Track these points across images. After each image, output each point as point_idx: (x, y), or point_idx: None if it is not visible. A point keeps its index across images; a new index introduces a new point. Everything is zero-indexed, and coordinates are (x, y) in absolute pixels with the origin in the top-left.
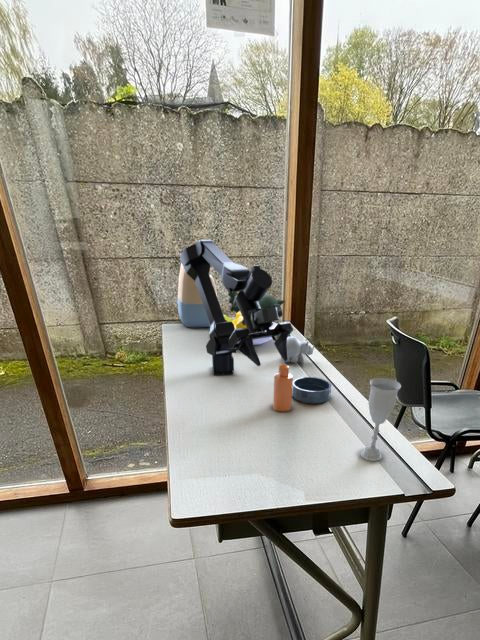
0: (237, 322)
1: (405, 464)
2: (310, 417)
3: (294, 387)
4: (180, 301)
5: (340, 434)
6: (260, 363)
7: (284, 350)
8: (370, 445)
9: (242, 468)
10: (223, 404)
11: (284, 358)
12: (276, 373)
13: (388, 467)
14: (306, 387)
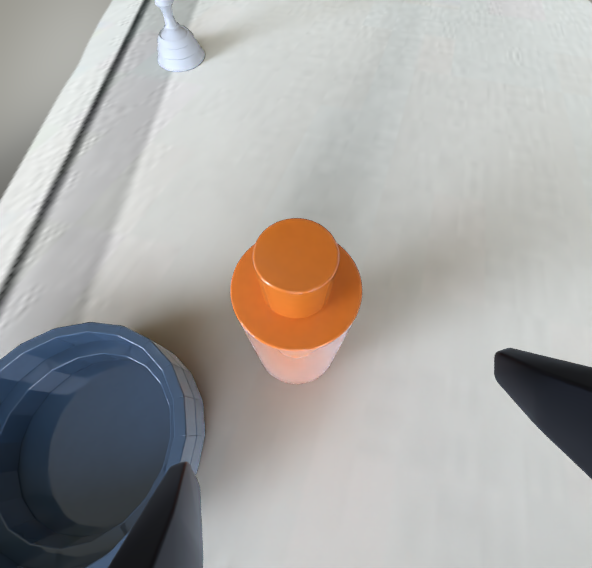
0: None
1: (135, 26)
2: (221, 243)
3: (188, 423)
4: None
5: (190, 137)
6: (503, 352)
7: (149, 563)
8: (178, 26)
9: (482, 68)
10: None
11: (194, 499)
12: (336, 330)
13: None
14: (66, 540)
